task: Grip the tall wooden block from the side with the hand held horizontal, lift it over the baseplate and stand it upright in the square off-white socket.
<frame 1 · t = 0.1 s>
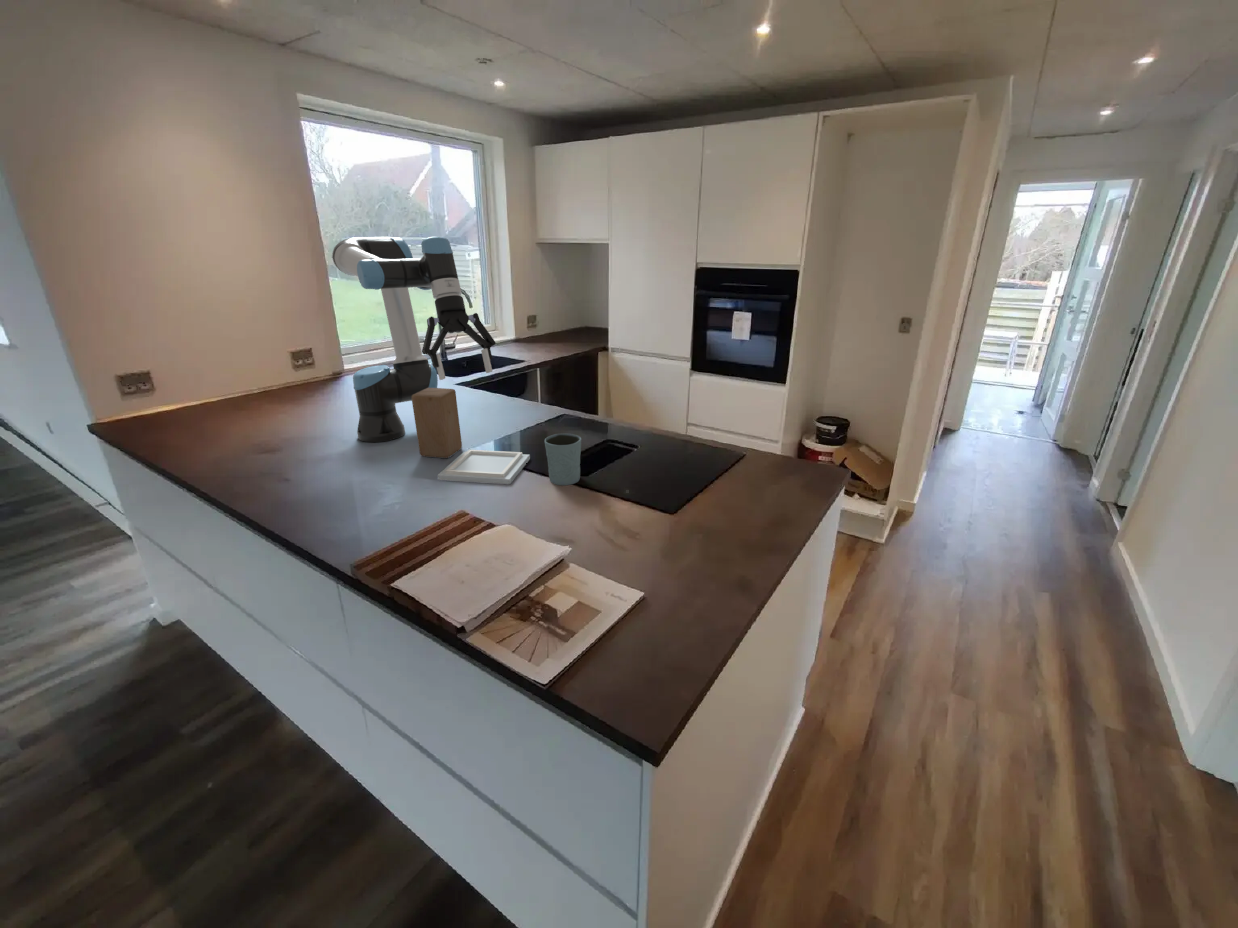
hand: (466, 375, 149), 28 cm above the countertop, tool tilted 20°, fingers open, 13 cm apart
wooden block: (441, 453, 172), on the countertop
baseplate: (486, 469, 160), on the countertop
teal cup: (564, 479, 153), on the countertop
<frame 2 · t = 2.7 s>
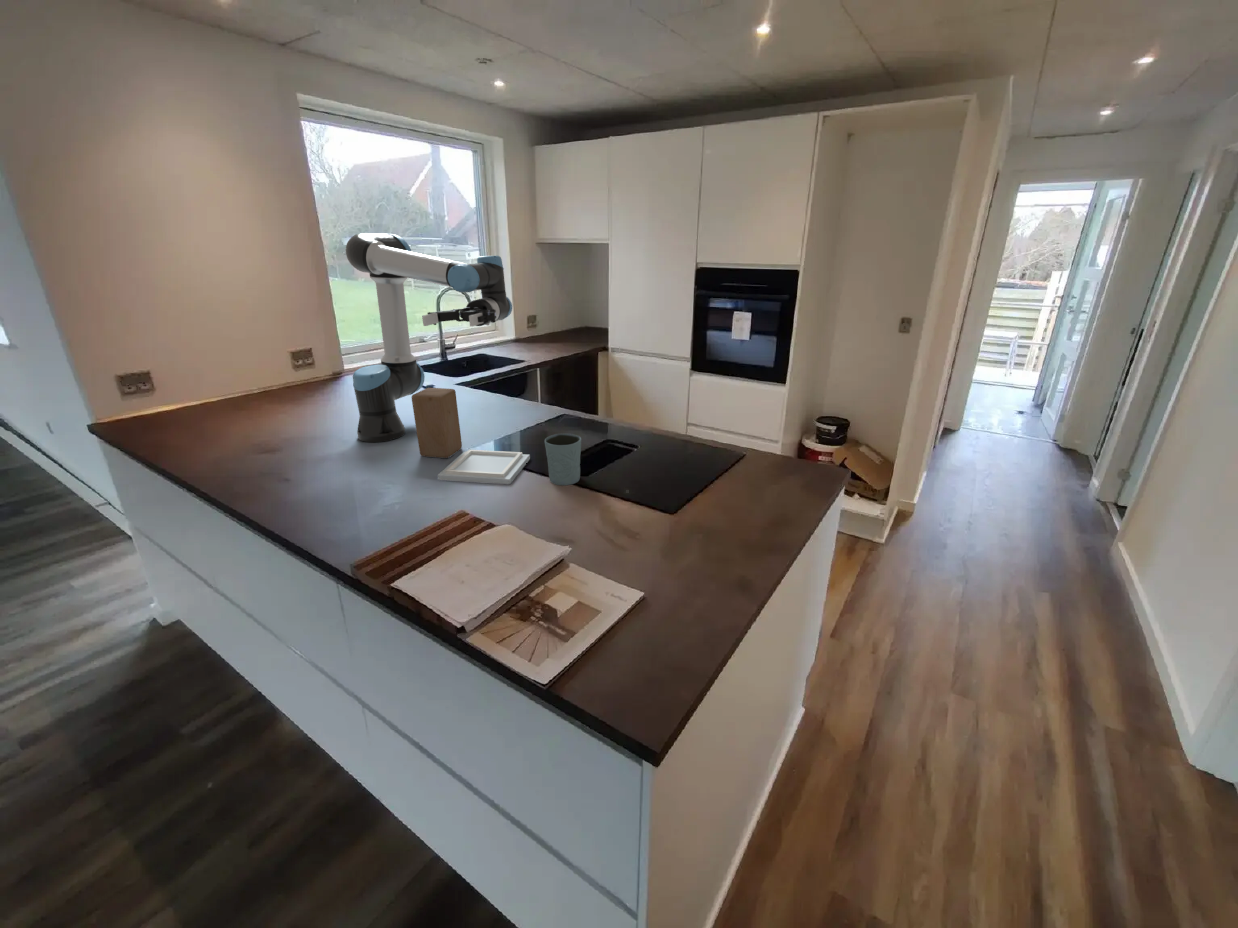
hand: (447, 321, 144), 43 cm above the countertop, tool horizontal, fingers open, 13 cm apart
nothing on the countertop moved.
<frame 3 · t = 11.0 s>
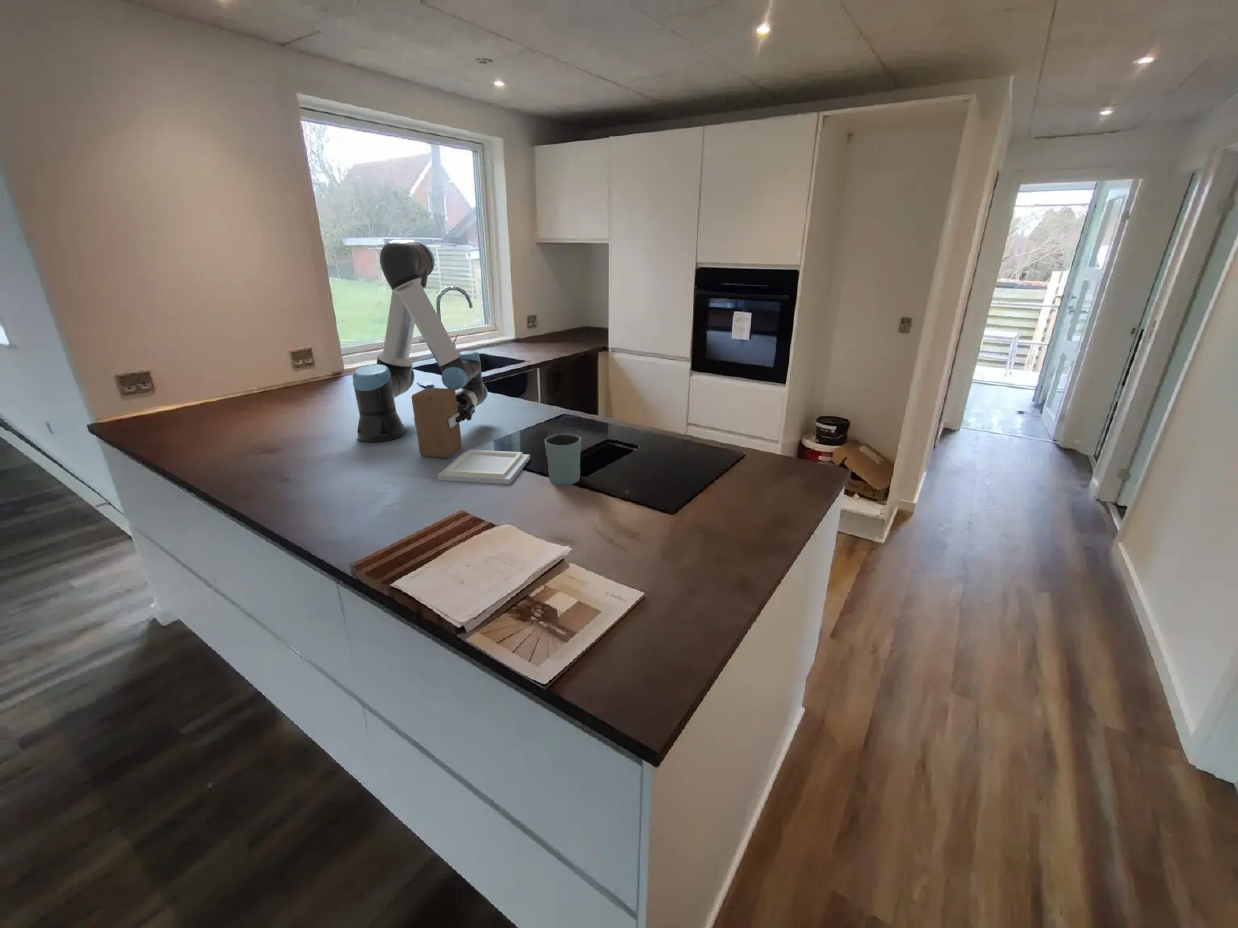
hand: (432, 422, 165), 11 cm above the countertop, tool horizontal, fingers closed on wooden block, 10 cm apart
wooden block: (441, 453, 172), on the countertop, touching gripper
everything else where it was.
when the fingers open (13 cm above the countertop, at t = 17.1 s): wooden block stays where it is, resting on baseplate.
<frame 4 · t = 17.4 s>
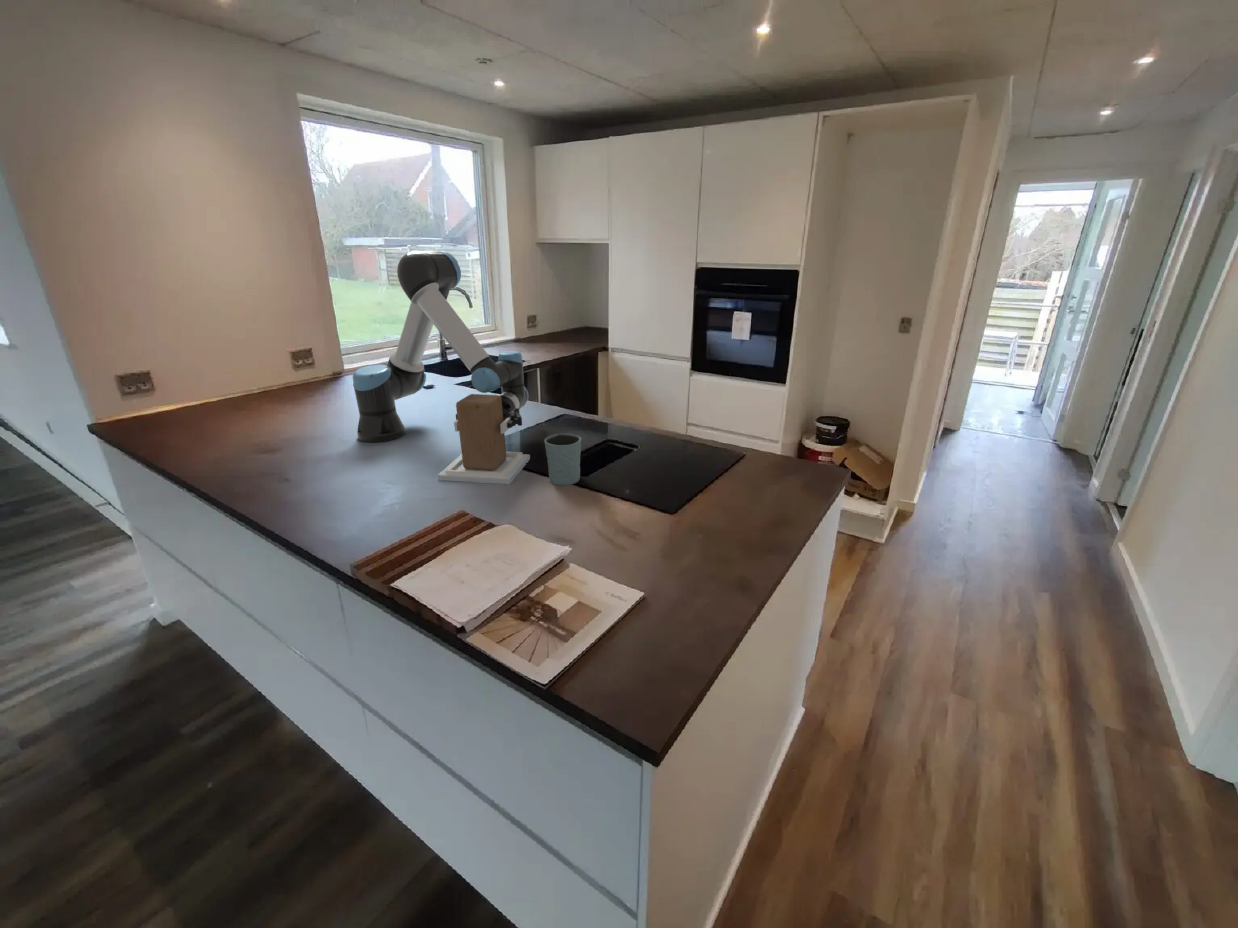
hand: (478, 428, 153), 13 cm above the countertop, tool horizontal, fingers open, 13 cm apart
wooden block: (485, 464, 159), point 1 cm above the countertop, touching baseplate
everything else where it was.
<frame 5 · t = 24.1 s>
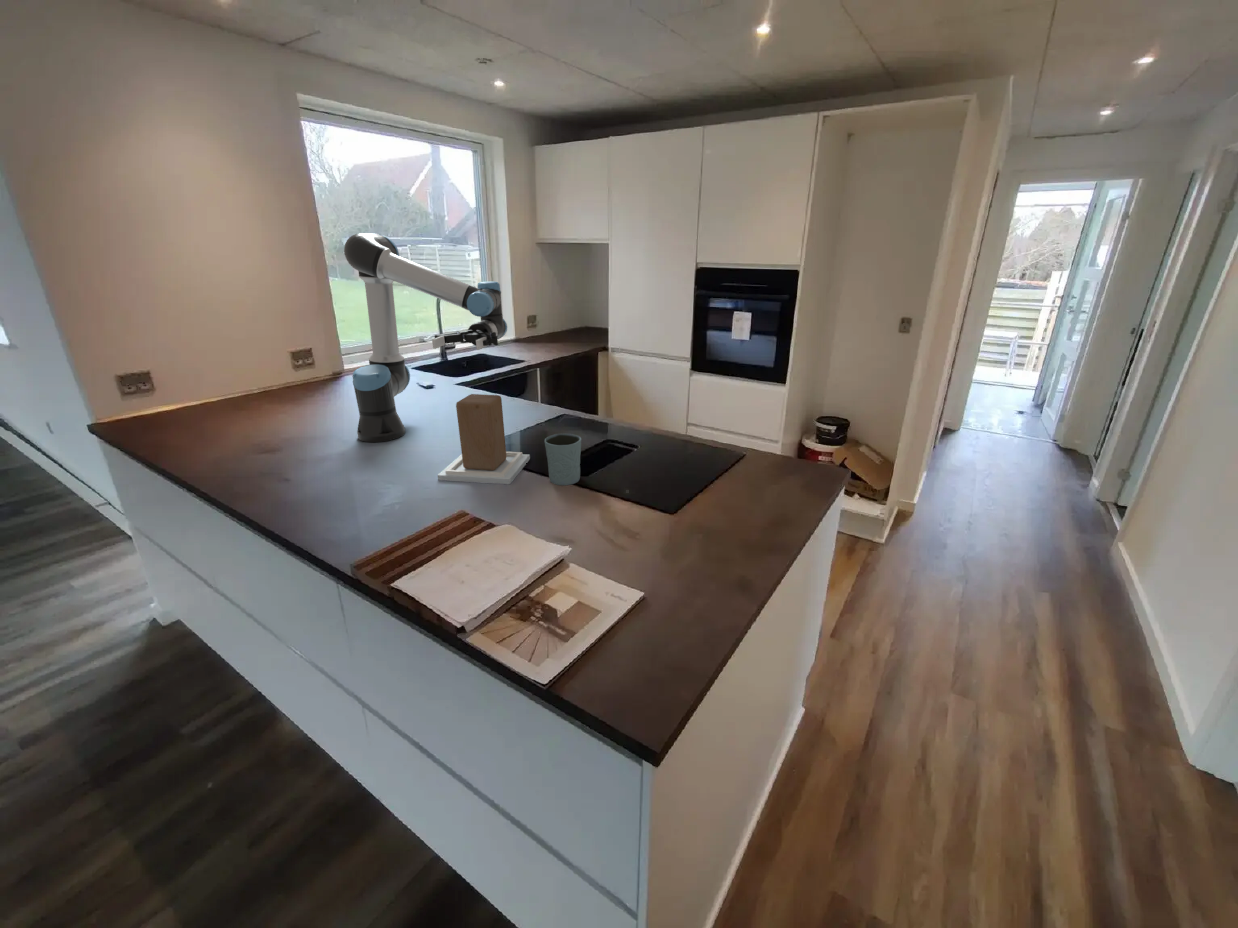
hand: (455, 344, 160), 34 cm above the countertop, tool horizontal, fingers open, 13 cm apart
nothing on the countertop moved.
at the end: wooden block 0.1 cm off-centre on the baseplate, point 1.3 cm above the baseplate's base; wooden block tilted 0°; the gripper is holding nothing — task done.
